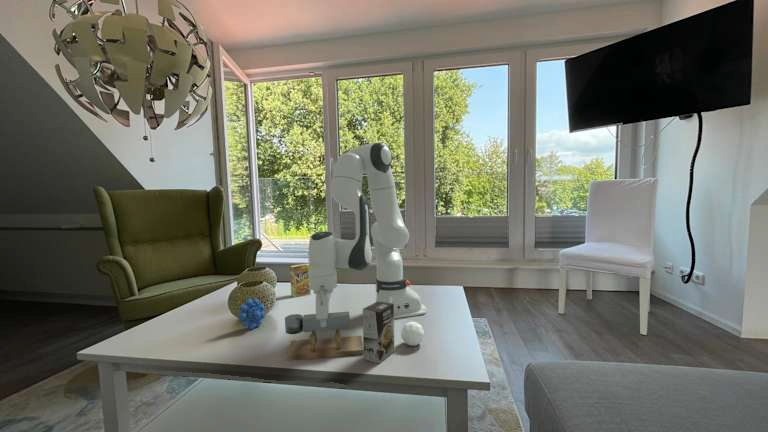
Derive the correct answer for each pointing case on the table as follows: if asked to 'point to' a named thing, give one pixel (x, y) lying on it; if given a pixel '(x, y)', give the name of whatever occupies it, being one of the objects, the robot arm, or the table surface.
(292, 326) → the grey bar
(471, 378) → the table surface
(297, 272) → the candy box
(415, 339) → the geometric ball
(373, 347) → the coffee box
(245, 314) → the grapes
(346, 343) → the peg board
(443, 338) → the table surface
